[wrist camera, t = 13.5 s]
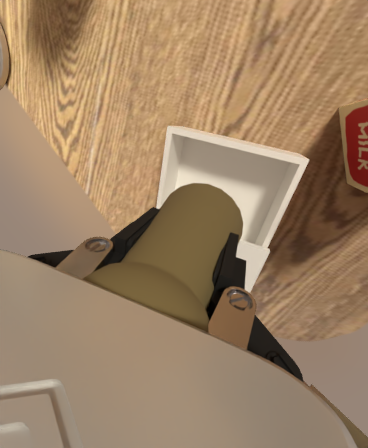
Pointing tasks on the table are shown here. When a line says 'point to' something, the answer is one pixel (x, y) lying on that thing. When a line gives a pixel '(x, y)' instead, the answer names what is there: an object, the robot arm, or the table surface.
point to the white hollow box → (234, 175)
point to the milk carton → (355, 142)
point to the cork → (177, 255)
